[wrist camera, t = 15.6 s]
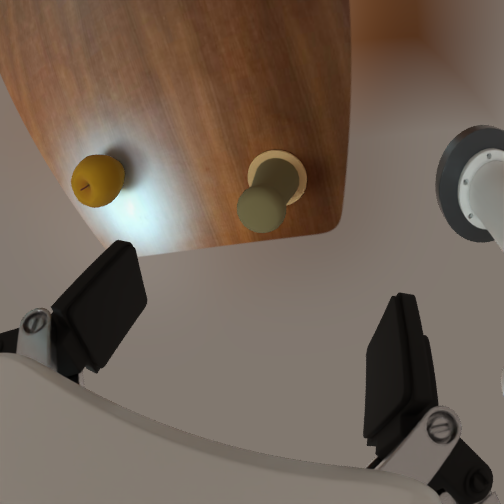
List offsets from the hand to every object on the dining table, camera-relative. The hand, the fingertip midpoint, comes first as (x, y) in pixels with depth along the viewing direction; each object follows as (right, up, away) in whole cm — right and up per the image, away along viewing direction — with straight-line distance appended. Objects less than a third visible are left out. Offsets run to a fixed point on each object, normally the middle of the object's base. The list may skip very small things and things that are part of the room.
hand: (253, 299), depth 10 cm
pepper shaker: (+3, +11, +29) cm, 31 cm away
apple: (-23, +16, +34) cm, 44 cm away
